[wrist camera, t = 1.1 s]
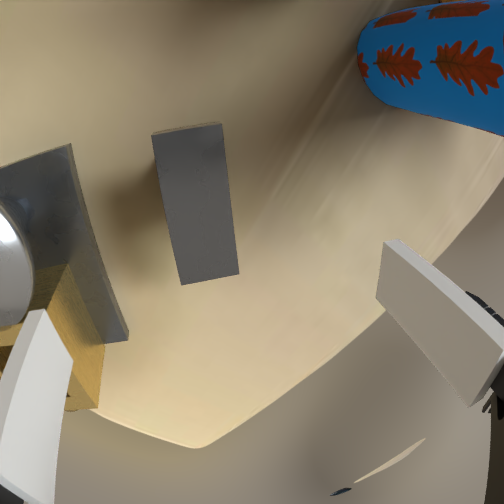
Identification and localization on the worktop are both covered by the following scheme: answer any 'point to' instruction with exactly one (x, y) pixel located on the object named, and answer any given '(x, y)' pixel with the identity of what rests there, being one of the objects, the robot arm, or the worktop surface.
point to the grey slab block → (197, 200)
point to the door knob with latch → (55, 268)
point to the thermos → (439, 61)
